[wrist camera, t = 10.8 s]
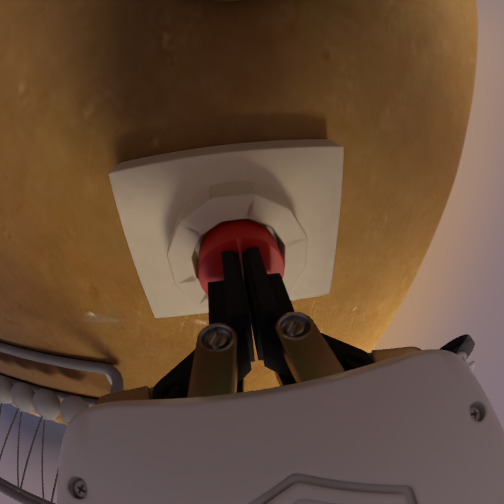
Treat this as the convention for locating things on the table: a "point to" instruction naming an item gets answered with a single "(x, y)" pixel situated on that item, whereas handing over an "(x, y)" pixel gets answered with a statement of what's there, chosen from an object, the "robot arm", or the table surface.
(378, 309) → the table surface
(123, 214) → the button block
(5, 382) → the newton's cradle
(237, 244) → the button
